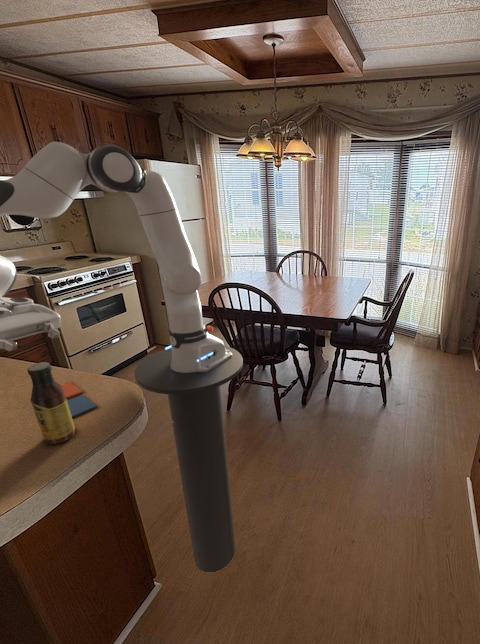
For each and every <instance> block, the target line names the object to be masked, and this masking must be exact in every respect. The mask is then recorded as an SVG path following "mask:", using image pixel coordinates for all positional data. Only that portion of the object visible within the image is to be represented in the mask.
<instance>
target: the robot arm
mask: <svg viewBox="0 0 480 644" xmlns="http://www.w3.org/2000/svg"><path fill="white" fill-rule="evenodd" d="M87 186H90V187H92V188H94V189H97V190H99V191H102V192H105V193H111V194H112V193H114V194H120V193H125V194H127V195H128V196H129V198H131V200H132V202H133V204H134V205H135V209H136V212H137V214H138V217H139V219H140V222H141V225H142V227H143V231H144V232H145V235H146V238H147V241H148V244H149V245H150V248H151V251H152V253H153V255H154V258H155V261H156V263H157V265H158V271H159V277H160V282H161V283H160V284H161V288H162V293H163V299H164V303H165V308H166V314H167V315H166V316H167V321H168V337H169V343H170V345H169V346H166V347H164V350H167V349H169V348H171V363H170V368H171V369H172V370H173V371H176V372H181V373H191V372H207V371H209V370H211V369H213V368H214V367H216V366H217V365H219V364H221V363H222V362H224V361H226V360H227V359H229V358H231V357H232V353H231V352H230V351H229V350H227V349H225V346H226V345H225V343H224V342H223V338H222V337H218V336H215V335H213V334H210V333H212V332H214V330H215V329H214V326H211V325H206V324H204V320H203V311H202V303H201V301H200V300H201V299H200V296H199V291H198V290H199V289H200V288H201V285H202V281H203V279H202V273H201V270H200V267H199V264H198V262H197V259H196V257H195V254H194V251H193V249H192V247H191V243H190V241H189V239H188V237H187V234H186V232H185V227H184V225H183V222H182V219H181V216H180V213H179V209H178V206H177V204H176V201H175V198H174V196H173V193H172V192H171V189H170V187H169V185H168V183H167V182H166V179H165V178H164V176H163V175H162V174H160V173H159V172H156V171H153V170H146V169H144V167H143V166H142V165H141V164H140V163H139V162H138V161H137V160H136V159H135V158H134V157H133V156H132V154H131V153H129V152H128V151H127V150H125V149H124V148H122V147H120V146H117V145H112V144H105V145H101V146H99V147H97V148H95V149H93V150H91V151H90V152H88V153H82V152H80V151H78V150H77V149H76V148H74V147H73V146H71V145H69V144H67V143H64V142H61V141H52V142H49V143H47V144H46V145H44V147H43V148H41V149H40V150H39V151H38V152H36V153H35V154H34V155H33V156H32V157H31V158H30V159H29V160H28V162H26V164H25V165H24V166H23V168H22V169H21V170H20V171H19V172H17V174H15V175H14V176H12V177H10V178H7V179H5V180H0V218H2V217H5V216H11V215H13V216H24V217H29V218H35V219H53V218H57V217H60V216H61V215H62V214H64V213H65V212H66V211H67V210H68V209H69V207H70V206H71V204H72V203H73V202H74V200H75V199H76V197H77V196H78V195H79V193H80V192H81V191H82V190H83V189H84V188H85V187H87ZM17 272H18V271H17V268H16V266H15V264H14V262H13V261H12V260H11V259H9V258H8V257H5V256H3V255H1V254H0V349H3V350H6V351H8V352H12V351H16V350H18V343H17V342H16V340H19V339H23V338H27V337H31V336H34V335H39V334H42V333H47V337H49V338H51V339H57V338H60V334H61V332H60V331H59V330H58V329H59V328H60V327H61V322H62V321H61V320H62V318H61V314H60V313H58V312H56V311H55V310H53V309H51V308H50V307H47V306H45V305H43V304H39V303H34V300H33V299H32V298H30V297H5V296H6V295H8V293H9V292H10V291H11V290H12V289H13V287H14V285H15V283H16V281H17V278H18V273H17Z"/></svg>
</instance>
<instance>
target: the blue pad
mask: <svg viewBox="0 0 480 644" xmlns="http://www.w3.org/2000/svg"><path fill="white" fill-rule="evenodd" d="M67 402H68V406H69V409H70V413H71V416H72V419H73V418H75V417H78V416H80V415H83V414H85V413H87V412H90V411H92V410H95V409H97V408H98V407H97V405H96V404H95V403H93V402H92V401H90V399H88V398H86V397H85V396H84V395H82V394H80V395H77V396H75V397H72V398H69V399H67Z"/></svg>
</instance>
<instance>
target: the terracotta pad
mask: <svg viewBox="0 0 480 644" xmlns="http://www.w3.org/2000/svg"><path fill="white" fill-rule="evenodd" d="M60 385H61V386H62V388H63V390H64V394H65V396H66V399H67V400H70V399H72V398H75V397H77V396H80V395H82V394H83V393H84V391H83V390H82V389H80V388H79V387H77V386H76V385H74V383H72V382H71V381H68V382H65V383H62V384H60Z"/></svg>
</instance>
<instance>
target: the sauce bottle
mask: <svg viewBox="0 0 480 644" xmlns="http://www.w3.org/2000/svg"><path fill="white" fill-rule="evenodd" d="M26 371H27V374H28V375H29V376H30V379H31V382H32V383H31V384H32V389H31V396H30V403H31V407H32V409H33V411H34V415H35V417H36V420H37V423H38V426H39V428H40V432H41V435H42V438H44V441H45V442H46V443H47V444H49V445H50V444H51V445H55V444H60V443H64V442H66V441H68V440H70V439H71V438H73V437H74V435H75V432H76V427H75V424H74V420H73V418H72V416H71V413H70V409H69V406H68V402H67V401H68V399H66V396H65V394H64V390H63V388H62V386H61V385H62V384H60V383H59V382H57V381H55V378H54V376H53V373H52V371H53V370H52V366H51V363H50V362H45V361H43V362H42V361H41V362H35V363H33V364H30V365H29V366H28V367H27V369H26Z"/></svg>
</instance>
